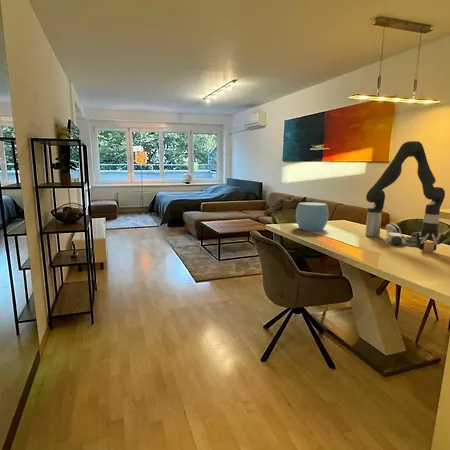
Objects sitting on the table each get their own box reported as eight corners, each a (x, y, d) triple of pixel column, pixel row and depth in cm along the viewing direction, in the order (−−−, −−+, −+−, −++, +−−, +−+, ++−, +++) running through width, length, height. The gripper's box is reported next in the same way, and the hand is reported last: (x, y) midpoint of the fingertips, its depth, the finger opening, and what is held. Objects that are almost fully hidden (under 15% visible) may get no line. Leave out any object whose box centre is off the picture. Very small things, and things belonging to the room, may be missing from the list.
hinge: (405, 238, 228) (401, 225, 227) (398, 240, 228) (394, 227, 227) (393, 233, 244) (390, 221, 243) (387, 235, 245) (384, 223, 243)
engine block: (423, 252, 190) (424, 242, 189) (421, 250, 194) (422, 240, 193) (433, 253, 188) (434, 243, 187) (431, 251, 193) (432, 241, 192)
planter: (324, 227, 268) (325, 202, 264) (330, 233, 243) (332, 206, 240) (293, 226, 270) (294, 201, 267) (296, 231, 246) (298, 205, 242)
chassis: (389, 245, 207) (390, 235, 206) (385, 238, 225) (386, 230, 224) (429, 248, 199) (430, 238, 198) (422, 241, 218) (423, 233, 217)
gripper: (418, 221, 187) (414, 250, 190) (447, 223, 182) (443, 253, 185) (415, 220, 194) (412, 247, 197) (443, 221, 189) (440, 250, 192)
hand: (427, 250), depth 191 cm, fingers open, 5 cm apart
